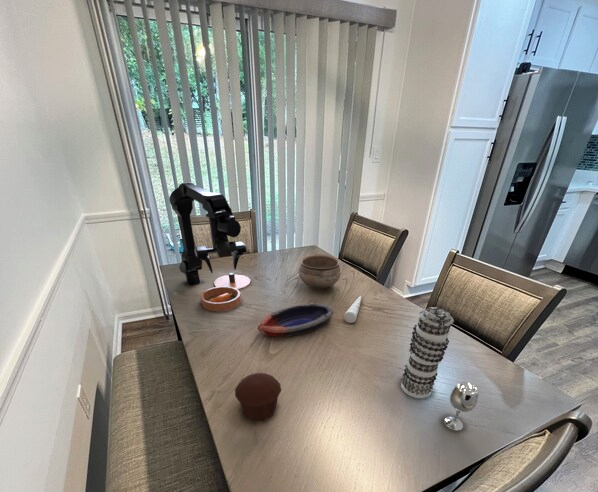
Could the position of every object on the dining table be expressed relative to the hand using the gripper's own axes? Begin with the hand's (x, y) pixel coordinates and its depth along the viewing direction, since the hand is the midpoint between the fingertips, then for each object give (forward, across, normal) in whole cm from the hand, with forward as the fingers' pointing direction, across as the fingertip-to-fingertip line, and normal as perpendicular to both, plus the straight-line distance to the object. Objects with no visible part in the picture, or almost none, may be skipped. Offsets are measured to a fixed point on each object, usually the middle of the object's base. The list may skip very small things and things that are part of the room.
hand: (223, 271), depth 127 cm
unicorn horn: (+14, +45, -27) cm, 55 cm away
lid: (+14, +7, +18) cm, 23 cm away
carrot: (+14, -2, +1) cm, 14 cm away
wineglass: (+14, +36, -87) cm, 96 cm away
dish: (+14, +19, -28) cm, 37 cm away
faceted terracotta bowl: (+14, -2, +1) cm, 14 cm away
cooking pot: (+14, +43, -1) cm, 45 cm away
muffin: (+14, -7, -62) cm, 64 cm away
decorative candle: (+14, +37, -73) cm, 83 cm away
